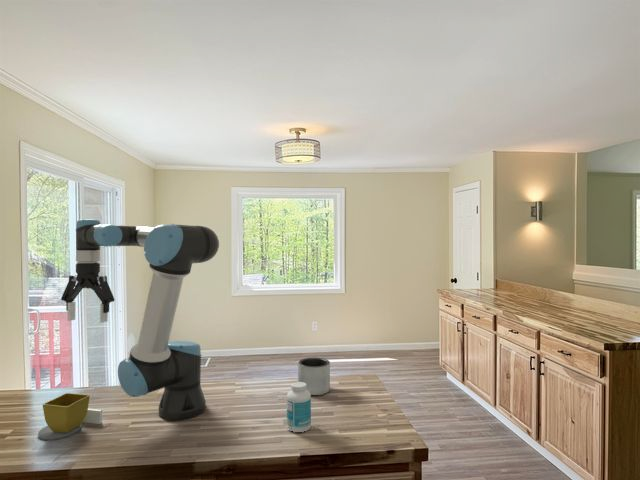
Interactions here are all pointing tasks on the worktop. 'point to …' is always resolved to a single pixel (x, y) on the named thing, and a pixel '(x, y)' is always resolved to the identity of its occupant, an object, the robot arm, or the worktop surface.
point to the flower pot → (66, 412)
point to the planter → (315, 375)
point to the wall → (93, 416)
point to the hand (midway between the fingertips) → (87, 321)
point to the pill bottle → (298, 408)
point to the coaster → (55, 433)
